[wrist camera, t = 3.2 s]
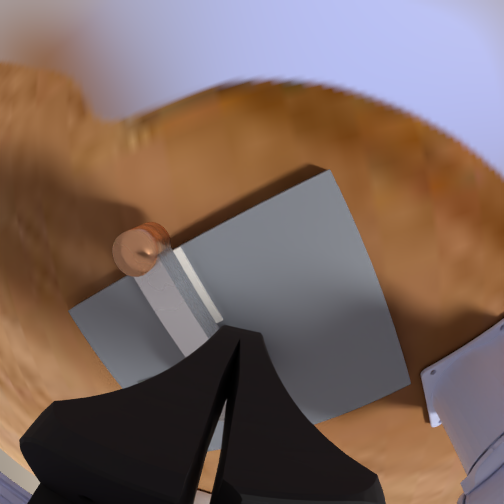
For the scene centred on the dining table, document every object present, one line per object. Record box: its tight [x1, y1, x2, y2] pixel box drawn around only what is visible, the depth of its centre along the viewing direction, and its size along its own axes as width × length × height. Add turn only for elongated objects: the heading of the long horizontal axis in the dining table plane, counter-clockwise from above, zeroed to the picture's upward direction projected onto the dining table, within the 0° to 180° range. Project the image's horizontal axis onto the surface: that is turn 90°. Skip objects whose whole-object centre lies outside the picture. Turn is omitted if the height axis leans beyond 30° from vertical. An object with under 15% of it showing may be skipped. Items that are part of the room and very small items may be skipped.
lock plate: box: [68, 170, 411, 451], centre depth 18 cm, size 20×16×2 cm
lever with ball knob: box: [112, 222, 227, 422], centre depth 15 cm, size 13×5×2 cm, turn 28°
